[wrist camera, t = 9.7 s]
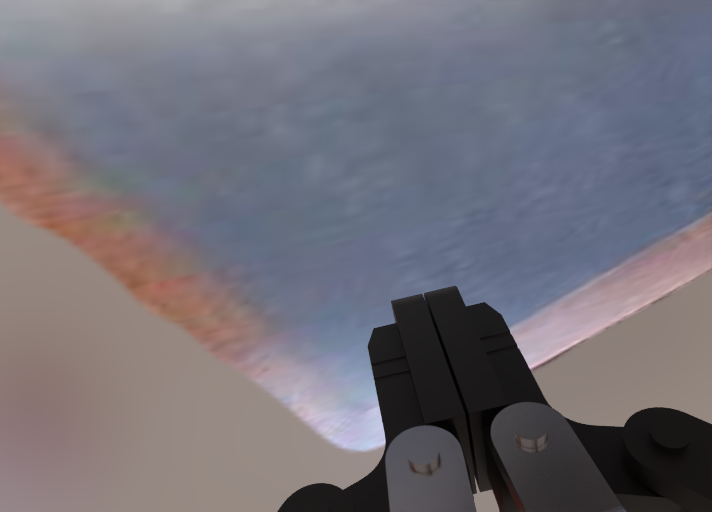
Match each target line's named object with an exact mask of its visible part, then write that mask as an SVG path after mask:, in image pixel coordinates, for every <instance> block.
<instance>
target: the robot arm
mask: <svg viewBox="0 0 712 512" xmlns="http://www.w3.org/2000/svg"><path fill="white" fill-rule="evenodd" d="M424 297H425V300H424ZM424 297H423V295H422V294H419V295H414V296H410V297H406V298H402V299H397V300H393V301H391V304H392V309H393V313H394V318H395V322H396V323H395V324H390V325H386V326H382V327H378V328H374V329H373V332H372V335H371V338H370V341H369V344H368V350H369V355H370V360H371V365H372V371H373V376H374V380H375V386H376V391H377V396H378V401H379V406H380V411H381V416H382V422H383V427H384V432H385V438H386V445H385V451H384V454H383V456H382V459H381V460H380V462H379V464H378V465H377V466H376V467H375V469H374V470H373V471H372V472H371V473H369V474H368V475H367V476H366V477H364V478H363V479H361V480H360V481H358V482H356V483H354V484H353V485H351V486H349V487H347V488H346V489H344V490H342V489H340V488H339V487H337V486H334V485H331V484H326V483H317V484H312V485H308V486H306V487H303V488H301V489H299V490H297V491H296V492H295V493H293V494H292V495H291V496H290V497H289V498H287V500H286V501H285V502H284V503H283V504H282V506H281V507H280V509H279V510H278V512H476V507H475V503H474V497H473V494H475V493H477V491H476V484H475V478H476V481H477V484H478V487H479V490H480V492H483V491H487V490H493V493H494V495H495V498H496V501H497V504H498V507H499V511H500V512H712V424H710V423H707V422H705V421H703V420H701V419H698V418H696V417H694V416H691V415H689V414H687V413H684V412H681V411H679V410H675V409H670V408H662V407H661V408H657V407H655V408H648V409H644V410H641V411H639V412H636V413H635V414H633V415H632V416H631V417H630V418H629V419H628V420H627V422H626V423H625V426H624V427H614V426H613V427H612V426H594V425H586V424H581V423H577V422H574V421H572V420H569V419H567V418H565V417H564V416H562V415H561V414H560V413H559V412H558V411H556V410H555V409H553V408H552V407H551V406H550V405H549V404H548V403H547V401H546V399H545V398H544V396H543V394H542V392H541V390H540V388H539V386H538V384H537V382H536V381H535V378H534V377H533V375H532V373H531V371H530V369H529V367H528V365H527V363H526V361H525V359H524V357H523V355H522V353H521V352H520V350H519V349H518V347H517V344H516V342H515V340H514V338H513V336H512V335H511V334H510V330H509V328H508V327H507V325H506V323H505V321H504V319H503V317H502V315H501V314H500V313H498V312H497V311H496V310H494V309H493V308H492V307H490V306H489V305H488V304H486V303H485V302H484V303H479V304H475V305H471V306H467V307H466V306H465V304H464V302H463V299H462V297H461V295H460V293H459V290H458V288H457V287H456V286H452V287H448V288H443V289H439V290H435V291H431V292H426V293H424ZM474 475H475V477H474Z"/></svg>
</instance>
